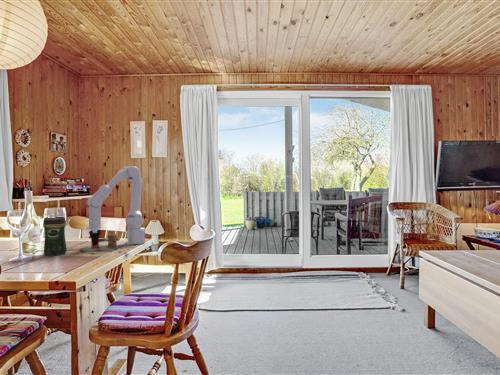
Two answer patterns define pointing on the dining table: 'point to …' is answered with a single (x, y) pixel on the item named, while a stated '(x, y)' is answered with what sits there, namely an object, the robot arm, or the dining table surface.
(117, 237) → the hook bolt
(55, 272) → the dining table surface
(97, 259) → the dining table surface
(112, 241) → the eye bracket
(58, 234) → the coffee jar
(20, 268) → the dining table surface
